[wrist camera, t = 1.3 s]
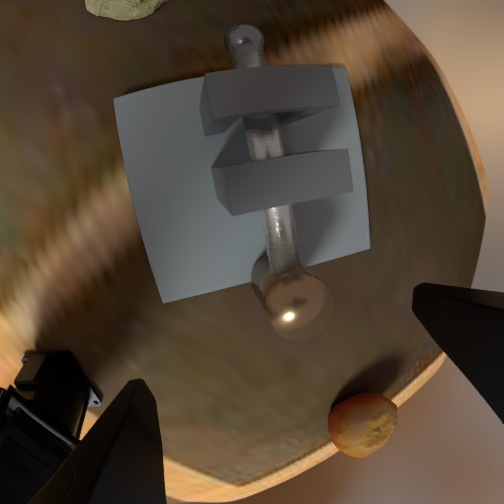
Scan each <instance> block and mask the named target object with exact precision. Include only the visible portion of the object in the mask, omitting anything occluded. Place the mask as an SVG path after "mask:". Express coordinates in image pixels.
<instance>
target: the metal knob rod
mask: <svg viewBox="0 0 504 504" xmlns="http://www.w3.org/2000/svg"><path fill="white" fill-rule="evenodd" d="M224 45H225V48H226V49H227V51H228V52H229V53H230V57H231V62H232V67H233V69H240V68H250V67H262V66H267V64H266V59H265V55H264V51H263V45H264V35H263V33H262V31H261V30H260V29H259V28H258V27H256V26H255V25H253V24H249V23H239V24H236V25H234V26H232V27H231V28H229V29H228V31H227V32H226V34H225V36H224ZM243 122H244V128H245V133H246V138H247V143H248V149H249V154H250V159H251V161H257V160H263V159H269V158H275V157H281V156H285V155H284V149H283V144H282V138H281V133H280V127H279V122H278V117H277V113H272V114H264V115H256V116H249V117H243ZM260 214H261V220H262V226H263V231H264V237H265V243H266V248H267V255H265V256H263V257H262V258H261V259H260V260H259V261H258V262H257V263H256V264H255V266H254V267H253V270H252V273H251V285H252V288H253V290H254V292H255V294H256V296H257V298H258V299H259V301H260V303H261V305H262V307H263V309H264V310H265V312H266V314H267V316H268V318H269V320H270V321H271V323H272V325H273V327H274V329H275V330H276V332H277V333H278V334H279V335H280V336H281V337H283V338H285V339H287V340H291V341H301V340H306V339H309V338H311V337H313V336H315V335H317V334H318V333H319V332H321V331H322V330H323V329H324V328H325V327H326V326H327V324H328V323H329V322H330V320H331V318H332V316H333V313H334V308H335V301H334V296H333V294H332V292H331V291H330V289H329V288H328V287H327V286H325V285H324V284H323V283H322V282H321V281H320V280H319V279H318V278H317V277H315V276H314V275H313V274H312V273H311V272H310V271H309V270H308V269H306V268H305V267H304V266H303V265H302V264H301V262H300V254H299V247H298V239H297V232H296V225H295V218H294V211H293V204H289V205H284V206H279V207H274V208H270V209H265V210H260Z"/></svg>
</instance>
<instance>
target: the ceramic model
mask: <svg viewBox="0 0 504 504" xmlns="http://www.w3.org/2000/svg"><path fill="white" fill-rule="evenodd" d="M168 1H169V0H85V3H86V8H87V10H88V11H90V12H91V13H93V14H94V15H97V16H98V15H99V16H101V15H102V16H103V17H110V18H113V19H118V20H133V19H139V18H143V17H146V16H148V15H150V14H152V13H153V12H154V11H155V10H156V9H157V8H158V7H160V6H161V5H162V4H164V3H165V2H168Z"/></svg>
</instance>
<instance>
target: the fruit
mask: <svg viewBox="0 0 504 504" xmlns="http://www.w3.org/2000/svg"><path fill="white" fill-rule="evenodd" d="M396 423H397V406H396V405H395V404H394V403H393V402H392V401H391V400H389V399H388V398H386V397H385V396H383V395H380V394H376V393H373V392H363V393H360V394H357V395H354V396H352V397H349V398H347V399H345V400H344V401H342V402H340V403H338V404H336V405H335V406H334V407H333V408H332V410H331V411H330V413H329V417H328V430H329V434H330V436H331V438H332V441H333V443H334V445H335V446H336V447H337V448H338V449H339V450H341V451H342V452H344V453H346V454H348V455H350V456H352V457H355V458H361V457H365V456H368V455H370V454H372V453H373V452H375V451H376V450H378V449H379V448H381V447H382V446H383V445H384V444H385V443H386V442H387V441H388V440H389V439H390V438H391V435H392V433H393V431H394V429H395V427H396Z"/></svg>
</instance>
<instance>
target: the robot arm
mask: <svg viewBox="0 0 504 504" xmlns="http://www.w3.org/2000/svg"><path fill="white" fill-rule="evenodd" d="M412 310H413V313H414V314H415V316H416V317H417V318H418V320H419V321H420V322H421V323H422V325H423V326H424V327H425V329H426V330H427V331H428V333H429V334H430V335H431V337H432V338H433V339H434V341H435V342H436V343H437V344H438V346H439V347H440V348H441V349H442V350H443V351H444V352H445V353H446V355H447V356H448V357H449V358H450V359H451V360H452V361H453V362H454V364H455V365H456V366H457V367H458V368H459V369H460V371H462V373H463V374H464V375H465V376H466V378H467V379H468V380H469V381H470V382H471V383H472V385H473V386H474V387H475V388H476V390H477V391H478V392H479V393H480V395H481V396H482V397H483V398H484V399H485V401H486V402H487V403H488V405H489V406H490V407H491V408H492V410H493V411H494V412H495V414H496V415H497V416H498V417H499V419H500V420H501V421H502V423H503V424H504V293H503V292H495V291H487V290H479V289H471V288H463V287H455V286H447V285H440V284H432V283H421V284H419V285H417V286H415V287H414V290H413V301H412ZM67 356H68V357H67ZM21 361H22V363H23V367H22V368H21V370H20V372H19V373H18V375H17V377H16V378H15V380H14V384H15V386H16V387H15V388H14V387H13V386H12V385H11V384H10V385H9V386H8V387H7V389H5V388H1V387H0V504H167V503H166V492H165V481H164V466H163V449H162V440H161V433H160V427H159V420H158V413H157V405H156V400H155V398H154V396H153V394H152V393H151V391H150V389H149V388H148V386H147V385H146V383H145V381H144V380H143V379H141V378H139V379H134V380H130V381H128V382H127V384H126V385H125V386H124V387H123V389H122V390H121V391H120V392H119V394H118V395H117V396H116V397H115V399H114V400H113V401H112V402H111V403H110V405H109V406H108V407H107V409H106V410H105V411H104V412H103V414H102V415H101V416H100V417H99V419H98V420H97V421H96V422H95V424H94V425H93V426H92V427H91V429H90V430H89V431H88V432H87V434H86V435H85V436H84V438H83V439H82V440H79V438H80V434H81V430H82V426H83V422H84V418H85V414H86V411H87V407H90V406H100V405H101V402H102V400H101V398H100V397H99V395H98V394H97V393H96V391H95V390H94V388H93V387H92V385H91V384H90V382H89V380H88V379H87V377H86V376H85V374H84V372H83V371H82V369H81V368H80V366H79V364H78V363H77V361H76V359H75V357H74V356H73V354H72V353H71V352H70V351H60V352H53V353H49V352H45V353H37V354H30V356H24V357H23V358H22V360H21Z"/></svg>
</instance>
